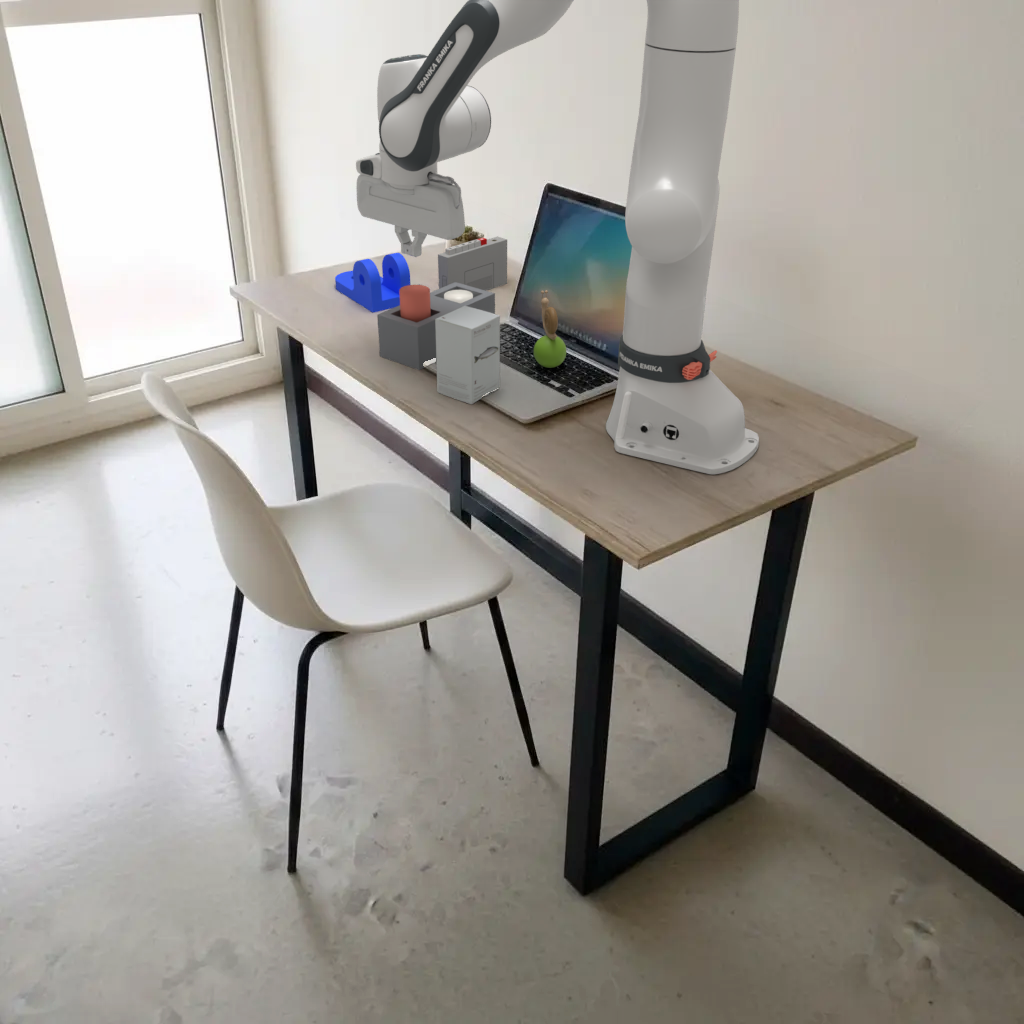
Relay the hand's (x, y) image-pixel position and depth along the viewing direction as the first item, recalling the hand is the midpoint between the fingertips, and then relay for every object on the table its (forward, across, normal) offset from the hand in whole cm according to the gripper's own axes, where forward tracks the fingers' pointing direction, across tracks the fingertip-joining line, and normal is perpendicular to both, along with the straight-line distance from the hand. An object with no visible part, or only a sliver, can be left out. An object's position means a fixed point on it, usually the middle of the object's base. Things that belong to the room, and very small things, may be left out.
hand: (411, 254), depth 170 cm
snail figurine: (+17, -20, -11) cm, 29 cm away
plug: (+16, -1, -11) cm, 20 cm away
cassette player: (+18, +11, -30) cm, 36 cm away
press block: (+17, 0, -6) cm, 18 cm away
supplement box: (+18, -16, +5) cm, 25 cm away
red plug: (+12, 0, 0) cm, 12 cm away
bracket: (+18, +26, -16) cm, 36 cm away
